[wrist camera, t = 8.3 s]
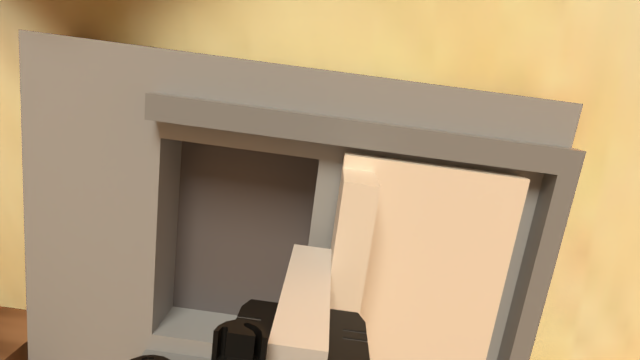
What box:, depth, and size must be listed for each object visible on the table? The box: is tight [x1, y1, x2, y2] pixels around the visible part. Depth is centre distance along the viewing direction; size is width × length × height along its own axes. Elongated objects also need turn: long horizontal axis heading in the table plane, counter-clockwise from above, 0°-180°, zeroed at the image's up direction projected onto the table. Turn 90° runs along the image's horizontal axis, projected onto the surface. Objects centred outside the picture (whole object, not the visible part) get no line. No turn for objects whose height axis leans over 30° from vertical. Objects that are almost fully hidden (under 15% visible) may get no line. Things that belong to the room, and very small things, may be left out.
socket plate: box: [19, 30, 586, 360], centre depth 19 cm, size 22×16×4 cm
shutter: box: [330, 152, 530, 360], centre depth 16 cm, size 7×10×3 cm
